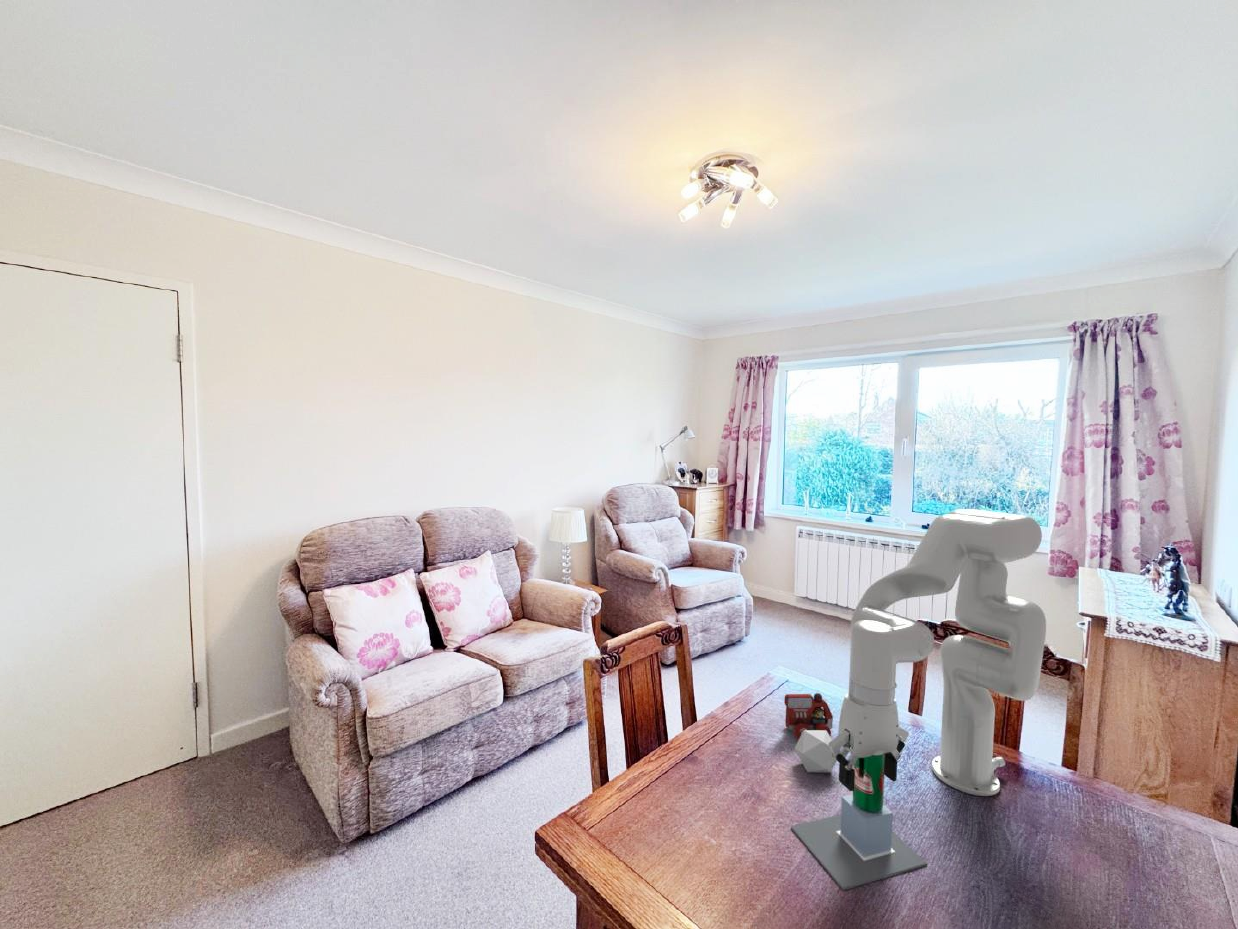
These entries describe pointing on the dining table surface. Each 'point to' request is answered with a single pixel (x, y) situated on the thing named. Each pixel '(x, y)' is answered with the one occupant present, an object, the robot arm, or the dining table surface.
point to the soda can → (869, 782)
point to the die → (815, 751)
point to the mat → (854, 854)
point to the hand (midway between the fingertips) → (867, 781)
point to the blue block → (866, 827)
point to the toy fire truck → (807, 713)
